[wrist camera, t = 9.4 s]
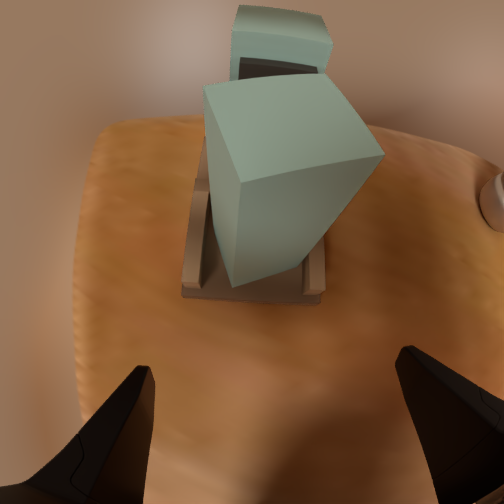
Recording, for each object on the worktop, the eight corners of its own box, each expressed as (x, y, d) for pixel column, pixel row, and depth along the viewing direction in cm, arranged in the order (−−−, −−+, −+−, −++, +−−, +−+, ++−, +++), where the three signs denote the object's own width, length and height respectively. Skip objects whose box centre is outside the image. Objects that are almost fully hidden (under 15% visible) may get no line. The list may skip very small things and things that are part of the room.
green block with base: (315, 305, 19) (442, 232, 7) (183, 297, 18) (107, 203, 6) (308, 153, 23) (358, 25, 11) (204, 143, 23) (198, 4, 10)
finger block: (297, 267, 19) (385, 154, 7) (232, 287, 18) (240, 182, 7) (273, 207, 20) (317, 65, 9) (211, 224, 19) (198, 76, 8)
